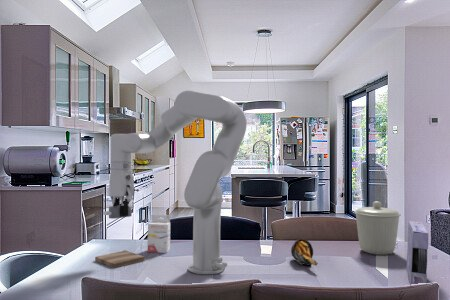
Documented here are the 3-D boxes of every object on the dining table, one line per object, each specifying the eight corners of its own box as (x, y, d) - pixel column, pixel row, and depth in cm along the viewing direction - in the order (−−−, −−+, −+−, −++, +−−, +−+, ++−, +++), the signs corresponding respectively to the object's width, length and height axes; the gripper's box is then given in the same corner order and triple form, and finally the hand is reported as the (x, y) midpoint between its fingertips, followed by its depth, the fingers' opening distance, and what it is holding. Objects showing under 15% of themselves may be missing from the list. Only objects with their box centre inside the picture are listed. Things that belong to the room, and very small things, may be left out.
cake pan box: (428, 291, 116) (429, 231, 116) (410, 288, 118) (410, 230, 118) (422, 272, 134) (422, 221, 134) (406, 271, 136) (406, 220, 136)
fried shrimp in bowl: (306, 244, 154) (334, 239, 138) (302, 272, 149) (330, 270, 133) (286, 237, 152) (312, 230, 136) (281, 265, 147) (307, 261, 131)
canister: (410, 255, 156) (411, 203, 156) (375, 259, 150) (375, 205, 150) (377, 245, 173) (378, 198, 173) (344, 248, 166) (345, 199, 167)
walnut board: (144, 260, 146) (144, 256, 146) (114, 268, 137) (114, 263, 137) (125, 254, 155) (125, 250, 155) (95, 260, 145) (95, 256, 145)
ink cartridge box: (147, 252, 158) (147, 216, 158) (150, 249, 163) (150, 214, 163) (167, 253, 158) (167, 216, 158) (170, 250, 162) (170, 214, 163)
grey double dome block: (133, 215, 148) (133, 205, 148) (107, 219, 140) (107, 208, 140) (127, 214, 150) (127, 204, 151) (101, 218, 142) (101, 207, 142)
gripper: (142, 167, 143) (141, 216, 143) (117, 165, 154) (117, 211, 154) (124, 167, 138) (124, 219, 137) (100, 166, 149) (99, 214, 149)
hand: (120, 214), depth 146 cm, fingers closed on grey double dome block, 4 cm apart
